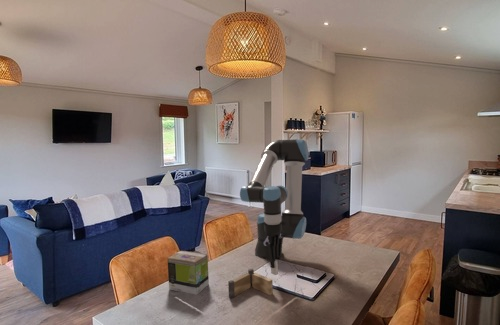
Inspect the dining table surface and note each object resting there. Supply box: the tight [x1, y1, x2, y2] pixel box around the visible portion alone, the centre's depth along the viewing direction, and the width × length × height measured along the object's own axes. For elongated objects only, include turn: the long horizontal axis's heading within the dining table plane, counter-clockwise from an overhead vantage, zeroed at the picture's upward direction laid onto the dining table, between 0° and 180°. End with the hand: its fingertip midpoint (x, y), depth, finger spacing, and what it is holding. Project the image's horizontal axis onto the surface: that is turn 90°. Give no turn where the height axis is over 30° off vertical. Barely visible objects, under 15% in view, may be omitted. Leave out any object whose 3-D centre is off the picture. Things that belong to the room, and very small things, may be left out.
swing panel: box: [247, 268, 274, 296], centre depth 131 cm, size 13×2×7 cm, turn 46°
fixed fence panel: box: [227, 272, 252, 299], centre depth 130 cm, size 2×12×7 cm, turn 137°
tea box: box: [167, 250, 210, 296], centre depth 136 cm, size 15×10×15 cm, turn 65°
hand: (274, 273), depth 137 cm, fingers closed
